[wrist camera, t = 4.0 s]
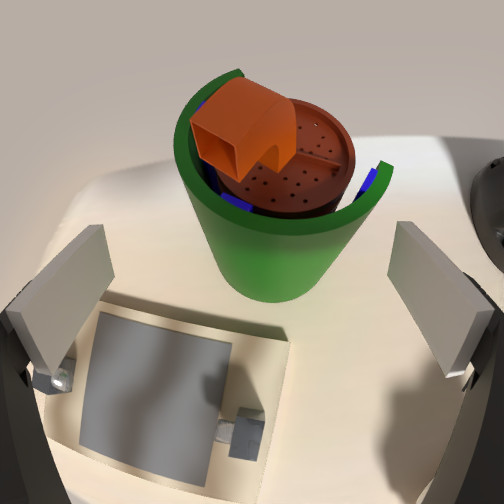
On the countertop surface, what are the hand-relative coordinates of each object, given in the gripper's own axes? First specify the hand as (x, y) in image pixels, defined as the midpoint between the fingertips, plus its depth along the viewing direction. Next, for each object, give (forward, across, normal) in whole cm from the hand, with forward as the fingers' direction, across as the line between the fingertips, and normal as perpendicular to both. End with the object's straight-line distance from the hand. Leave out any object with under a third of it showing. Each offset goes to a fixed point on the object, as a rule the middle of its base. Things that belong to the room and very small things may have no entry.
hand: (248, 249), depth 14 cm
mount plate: (+4, -9, -16) cm, 19 cm away
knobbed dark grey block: (+4, -17, -14) cm, 22 cm away
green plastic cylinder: (+13, +1, -7) cm, 15 cm away
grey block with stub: (+2, -1, -16) cm, 17 cm away
